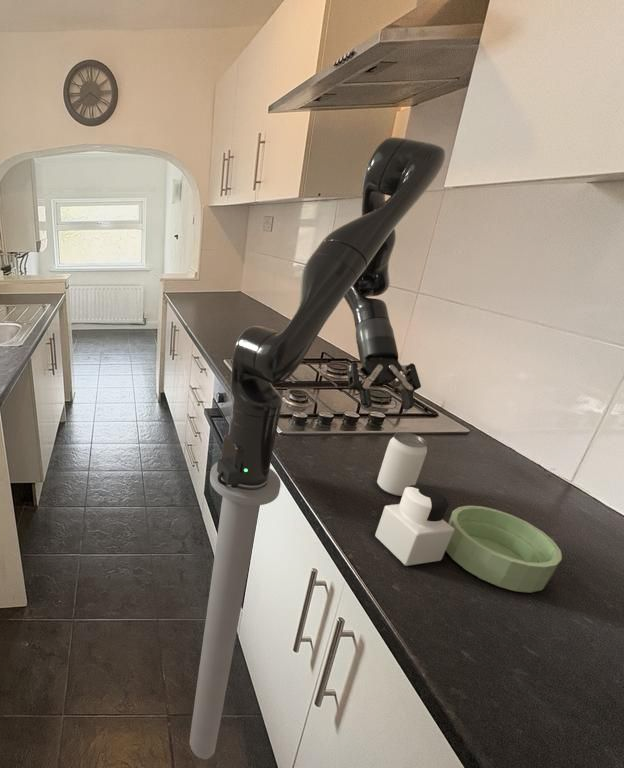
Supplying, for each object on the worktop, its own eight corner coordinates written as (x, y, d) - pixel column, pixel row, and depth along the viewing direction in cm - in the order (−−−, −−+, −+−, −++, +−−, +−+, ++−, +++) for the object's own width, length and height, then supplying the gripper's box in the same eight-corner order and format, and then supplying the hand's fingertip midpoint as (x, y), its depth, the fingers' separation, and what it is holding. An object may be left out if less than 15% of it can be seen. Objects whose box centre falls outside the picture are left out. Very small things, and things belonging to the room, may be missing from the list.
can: (371, 476, 92) (386, 429, 87) (404, 480, 91) (420, 432, 86) (383, 495, 86) (399, 446, 81) (417, 499, 85) (436, 449, 80)
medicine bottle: (407, 531, 77) (427, 477, 72) (442, 561, 70) (466, 505, 65) (373, 536, 75) (391, 482, 71) (405, 567, 69) (427, 510, 64)
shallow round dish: (500, 602, 63) (515, 573, 61) (421, 537, 75) (431, 511, 73) (568, 586, 66) (586, 558, 63) (481, 526, 78) (493, 500, 75)
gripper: (351, 333, 94) (363, 401, 88) (417, 335, 93) (433, 403, 87) (337, 348, 101) (346, 411, 95) (398, 349, 100) (411, 414, 94)
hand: (388, 407), depth 91 cm, fingers open, 8 cm apart
